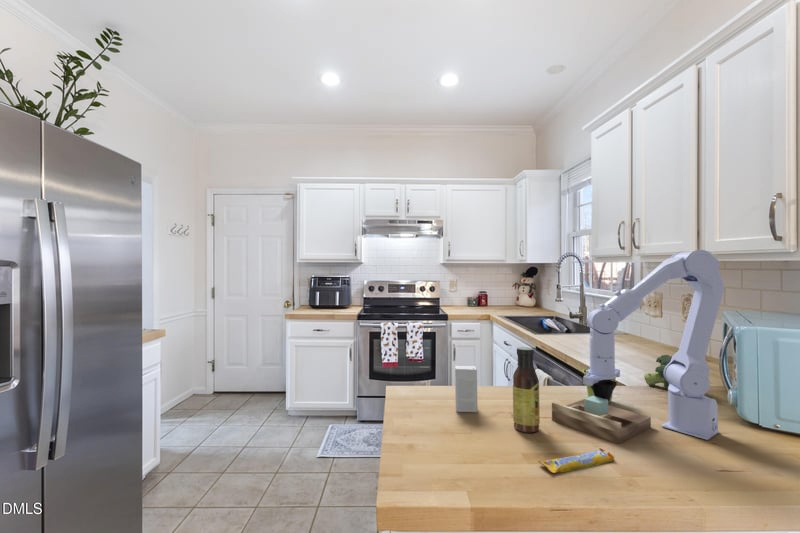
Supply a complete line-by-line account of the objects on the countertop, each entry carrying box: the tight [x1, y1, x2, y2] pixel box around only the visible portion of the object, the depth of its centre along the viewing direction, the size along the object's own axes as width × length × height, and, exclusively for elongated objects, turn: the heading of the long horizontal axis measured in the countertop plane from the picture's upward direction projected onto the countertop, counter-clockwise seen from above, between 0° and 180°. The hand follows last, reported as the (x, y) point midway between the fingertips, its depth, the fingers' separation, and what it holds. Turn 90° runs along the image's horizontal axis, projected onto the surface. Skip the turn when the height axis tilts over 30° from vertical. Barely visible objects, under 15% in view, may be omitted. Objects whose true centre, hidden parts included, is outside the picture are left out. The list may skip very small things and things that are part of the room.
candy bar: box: [537, 447, 615, 474], centre depth 78 cm, size 17×4×2 cm, turn 109°
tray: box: [551, 398, 652, 445], centre depth 99 cm, size 17×16×4 cm
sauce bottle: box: [512, 346, 541, 433], centre depth 96 cm, size 6×6×20 cm
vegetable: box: [643, 354, 673, 391], centre depth 126 cm, size 12×13×15 cm
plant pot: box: [582, 367, 617, 404], centre depth 116 cm, size 9×9×9 cm
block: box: [584, 396, 608, 416], centre depth 98 cm, size 4×4×4 cm
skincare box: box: [454, 365, 479, 413], centre depth 109 cm, size 6×4×12 cm
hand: (602, 408), depth 99 cm, fingers closed
